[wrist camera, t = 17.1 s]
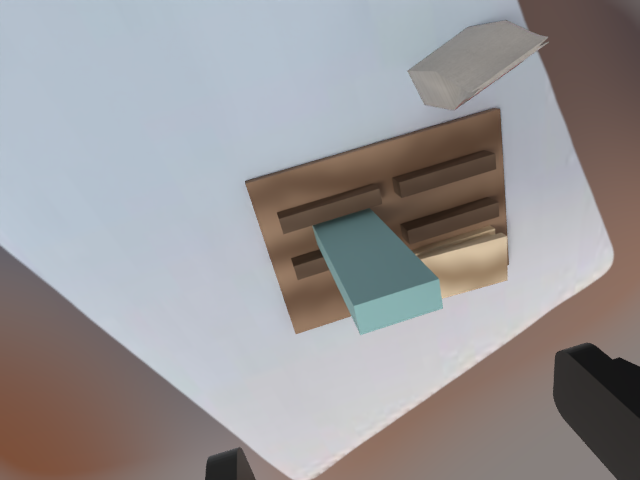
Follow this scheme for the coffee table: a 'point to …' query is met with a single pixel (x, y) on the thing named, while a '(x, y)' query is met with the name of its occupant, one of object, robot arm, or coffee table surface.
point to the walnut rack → (380, 202)
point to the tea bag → (472, 62)
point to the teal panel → (376, 271)
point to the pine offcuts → (467, 260)
